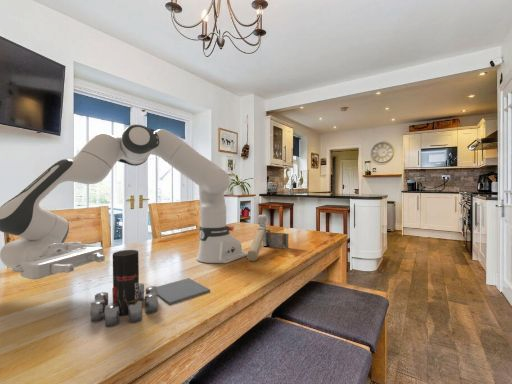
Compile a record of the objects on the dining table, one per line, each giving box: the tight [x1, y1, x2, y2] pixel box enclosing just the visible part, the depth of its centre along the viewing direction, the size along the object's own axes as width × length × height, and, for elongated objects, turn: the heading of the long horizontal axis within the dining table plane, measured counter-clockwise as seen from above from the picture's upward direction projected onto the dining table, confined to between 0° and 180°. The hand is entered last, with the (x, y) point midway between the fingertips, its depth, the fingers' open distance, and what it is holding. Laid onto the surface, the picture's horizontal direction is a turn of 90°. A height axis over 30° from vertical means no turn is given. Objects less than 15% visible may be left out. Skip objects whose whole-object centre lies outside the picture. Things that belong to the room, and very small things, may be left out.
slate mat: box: [156, 277, 211, 305], centre depth 81 cm, size 13×13×1 cm
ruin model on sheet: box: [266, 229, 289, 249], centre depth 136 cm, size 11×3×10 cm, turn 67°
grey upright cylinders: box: [89, 282, 159, 328], centre depth 69 cm, size 16×16×4 cm
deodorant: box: [112, 249, 140, 317], centre depth 69 cm, size 6×6×15 cm
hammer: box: [246, 214, 268, 262], centre depth 126 cm, size 16×5×30 cm
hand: (87, 263), depth 72 cm, fingers open, 8 cm apart
